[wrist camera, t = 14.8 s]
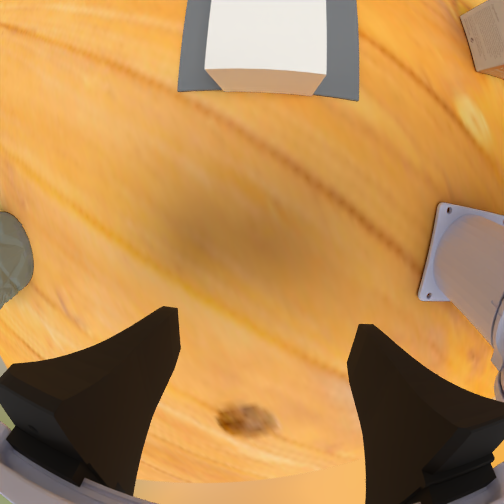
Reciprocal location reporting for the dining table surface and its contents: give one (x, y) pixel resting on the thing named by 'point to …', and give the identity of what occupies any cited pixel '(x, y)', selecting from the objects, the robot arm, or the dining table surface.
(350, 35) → the thin grey square plate
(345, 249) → the dining table surface
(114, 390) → the robot arm
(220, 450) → the dining table surface
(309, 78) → the white rectangular block
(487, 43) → the small box
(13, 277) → the grey green tumbler
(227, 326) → the dining table surface
